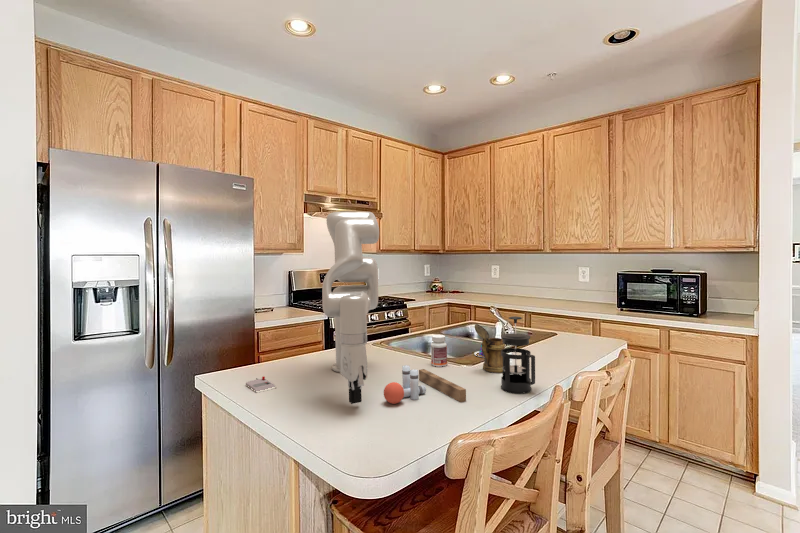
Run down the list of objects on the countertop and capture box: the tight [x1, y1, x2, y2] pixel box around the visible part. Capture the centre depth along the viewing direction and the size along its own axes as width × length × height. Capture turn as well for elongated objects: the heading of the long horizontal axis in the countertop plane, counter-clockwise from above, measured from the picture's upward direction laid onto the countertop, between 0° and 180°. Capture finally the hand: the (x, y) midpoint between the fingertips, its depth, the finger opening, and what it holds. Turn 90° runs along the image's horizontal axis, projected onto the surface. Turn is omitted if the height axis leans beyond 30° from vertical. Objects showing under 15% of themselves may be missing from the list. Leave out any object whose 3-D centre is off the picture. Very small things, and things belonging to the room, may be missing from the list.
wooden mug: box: [474, 323, 506, 374], centre depth 149 cm, size 9×14×18 cm, turn 121°
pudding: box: [473, 343, 484, 358], centre depth 171 cm, size 12×12×5 cm
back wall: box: [418, 368, 467, 403], centre depth 129 cm, size 24×2×4 cm, turn 27°
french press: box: [500, 315, 536, 395], centre depth 128 cm, size 12×9×23 cm
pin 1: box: [401, 364, 411, 389], centre depth 126 cm, size 2×2×8 cm
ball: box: [383, 381, 405, 405], centre depth 119 cm, size 6×6×6 cm
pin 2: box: [410, 368, 420, 401], centre depth 122 cm, size 2×2×8 cm
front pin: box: [403, 384, 427, 398], centre depth 125 cm, size 2×2×8 cm
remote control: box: [245, 375, 276, 391], centre depth 136 cm, size 7×16×3 cm, turn 40°
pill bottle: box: [430, 334, 448, 368], centre depth 157 cm, size 6×6×11 cm
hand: (355, 402), depth 116 cm, fingers closed
